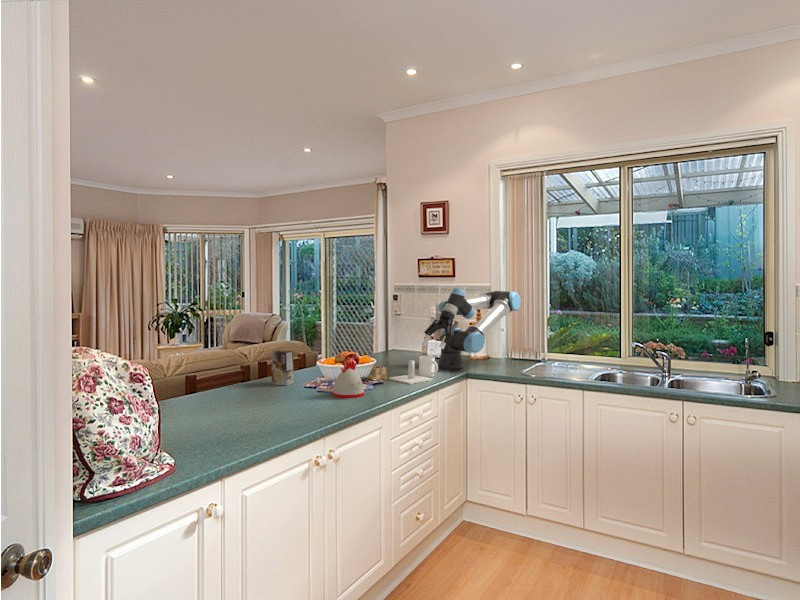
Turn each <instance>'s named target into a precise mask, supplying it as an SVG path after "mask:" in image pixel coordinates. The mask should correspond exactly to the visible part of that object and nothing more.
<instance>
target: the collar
mask: <svg viewBox="0 0 800 600" xmlns="http://www.w3.org/2000/svg"><path fill="white" fill-rule="evenodd" d="M372 366H373V368H372V370H371V372H370V374H369V376H368V378H369V379H384V380H387V379H388V367H386V366H383V365H372ZM369 379H368V380H369Z"/></svg>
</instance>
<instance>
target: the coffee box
mask: <svg viewBox="0 0 800 600" xmlns="http://www.w3.org/2000/svg"><path fill="white" fill-rule="evenodd" d="M270 353H271V354H270V355H271V385H277V386H285V387H287V386H291V385H293V384H294V383H295V382H294V351H293V350H281V349H278V350H273V351H271V352H270Z"/></svg>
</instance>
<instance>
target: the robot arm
mask: <svg viewBox="0 0 800 600" xmlns="http://www.w3.org/2000/svg"><path fill="white" fill-rule="evenodd" d="M521 302H522V300H521V296H520V294H519V293H518V292H516V291H512V290H511V291H506V290H505V291H504V290H503V291H502V290H495V291H489V292H485V293H480V294H479V295H478V296H470V297H466V291H464V290H463V289H461V288H459V287H455V288H453V290H452V291H451V293H450V295H449V296H448V299H447V300H442V301H440V303H439V304H438V311H439V312H440V315H439V319H434V320H433V321H432V323H431V324H430V325H429V326H428V327H427V328H426V329H425V330H424V332H423V333H424V334H425V336H424V338H423V341H422V343H421V346H423V347H425V348H426V347H427V345H428V343H429V341H430V339H431V336H432V335H433V334H435V333H436V332H437V331H438V330H441V333H440V334H441V335H440V344H439V348H440V356H439V358H438V362H437V365H438V368H439V367H440V369H444V368H445V370H458V369H459V368H461V369H463V368H464V362H463V358H462V354H461V353H462V352H463V353H464V352H466V353H469V354H475V353H476V354H477V353H479V352H480V351H482V350H483V348H484V346H485V345H484V344H485V340H486V338H485V336H486V335H488V334H489V332H490V331H491V330H492V329H493V328H494V327H495V326H496V325H497V324H498V323H499V322H500V321H501V320H502V319H503V318H504V317H506V316H509V315H510V313H512V312H517V311H518V310H520V308H521ZM479 309H481V310H485V309H487V310H488V309H489V310H488V311H487V312H486V313H485V314H484V315H483V316H482V317H481V318H480V319H479V320H478V321H477V322H476V323H475V324H474V325H470V326H469V327H468V328H466V330H462V327H455V324H456V322H455V321H454V319H455V317H456V316H462V317H463V318H465V320H470V319H472V318H473V317H474V316H475V313H476V311H475V310H479ZM459 370H460V369H459Z"/></svg>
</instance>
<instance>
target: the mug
mask: <svg viewBox="0 0 800 600" xmlns="http://www.w3.org/2000/svg"><path fill="white" fill-rule="evenodd" d="M435 358H436V357H435V356H432V355H421V356H419V358H418V359H419V361H418V376H423V377H428V378H433V376H434V377H435V375H436V374H437V373H438V370H439V367H438V362H436V359H435Z"/></svg>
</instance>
